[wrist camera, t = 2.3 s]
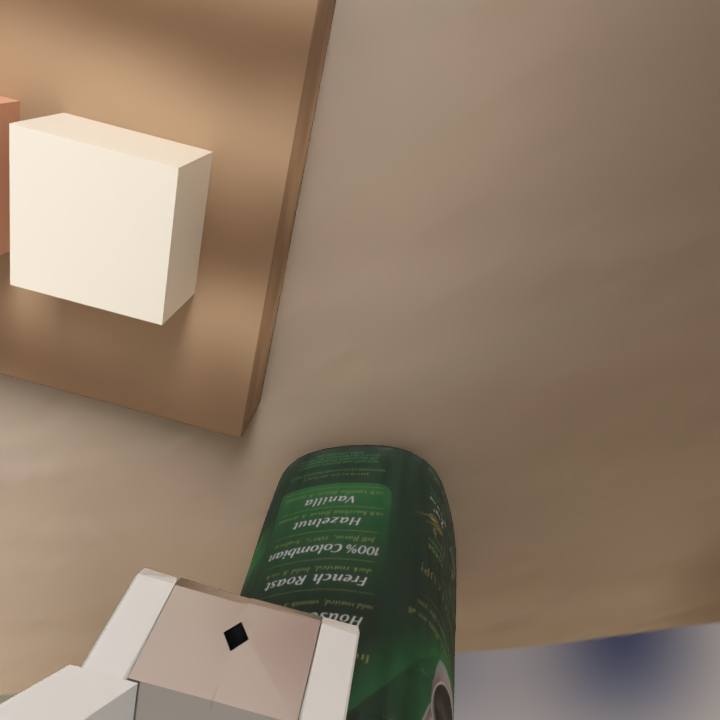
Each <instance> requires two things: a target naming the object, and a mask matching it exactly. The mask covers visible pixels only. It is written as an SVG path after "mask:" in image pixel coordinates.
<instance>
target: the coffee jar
mask: <svg viewBox="0 0 720 720" xmlns="http://www.w3.org/2000/svg"><path fill="white" fill-rule="evenodd" d="M240 596H243V597H246V598H250V599H251V598H253V599H257V600H261V601H265V602H269V603H272V604H276V605H280V606H284V607H288V608H292V609H296V610H299V611H303V612H307V613H311V614H315V615H319V616H321V619H322V618H323V617H325V618H329V619H333V620H337V621H340V622H344V623H348V624H352V625H355V626H358V628H359V633H360V634H359V640H358V646H357V653H356V659H355V665H354V671H353V678H352V684H351V690H350V696H349V703H348V709H347V715H346V720H454V660H455V659H454V657H455V630H456V623H455V619H456V547H455V537H454V529H453V522H452V517H451V512H450V508H449V504H448V500H447V497H446V494H445V491H444V488H443V485H442V483H441V480H440V479H439V477H438V475H437V473H436V472H435V470H434V469H433V468H432V467H431V466H430V465H429V464H428V463H427V462H426V461H425V460H423V459H421V458H420V457H418V456H417V455H415V454H413V453H411V452H409V451H406V450H403V449H400V448H395V447H389V446H377V445H350V446H341V447H334V448H327V449H323V450H319V451H315V452H312V453H309V454H307V455H305V456H303V457H301V458H299V459H297V460H296V461H294V462H293V463H292V464H291V465H290V466H289V467H288V468H287V469H286V470H285V472H284V473H283V475H282V477H281V479H280V481H279V484H278V486H277V489H276V491H275V494H274V497H273V499H272V502H271V505H270V507H269V510H268V513H267V516H266V519H265V522H264V525H263V528H262V531H261V534H260V537H259V540H258V543H257V546H256V549H255V553H254V556H253V559H252V562H251V565H250V568H249V571H248V574H247V577H246V580H245V583H244V585H243V588H242V591H241V594H240Z"/></svg>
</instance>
